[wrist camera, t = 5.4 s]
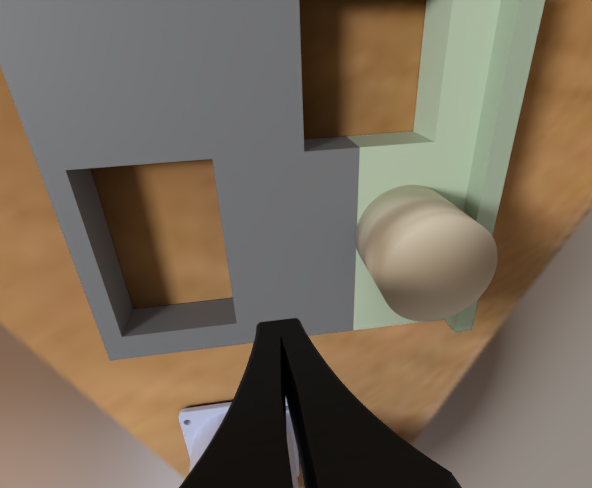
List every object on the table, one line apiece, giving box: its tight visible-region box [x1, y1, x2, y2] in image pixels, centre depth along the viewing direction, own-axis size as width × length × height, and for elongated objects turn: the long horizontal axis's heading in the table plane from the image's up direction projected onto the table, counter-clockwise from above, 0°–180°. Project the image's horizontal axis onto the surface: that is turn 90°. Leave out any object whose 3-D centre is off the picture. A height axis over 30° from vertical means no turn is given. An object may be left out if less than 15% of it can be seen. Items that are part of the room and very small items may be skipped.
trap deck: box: [0, 0, 545, 361], centre depth 18 cm, size 17×20×4 cm
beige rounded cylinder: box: [355, 185, 498, 322], centre depth 17 cm, size 5×5×4 cm
